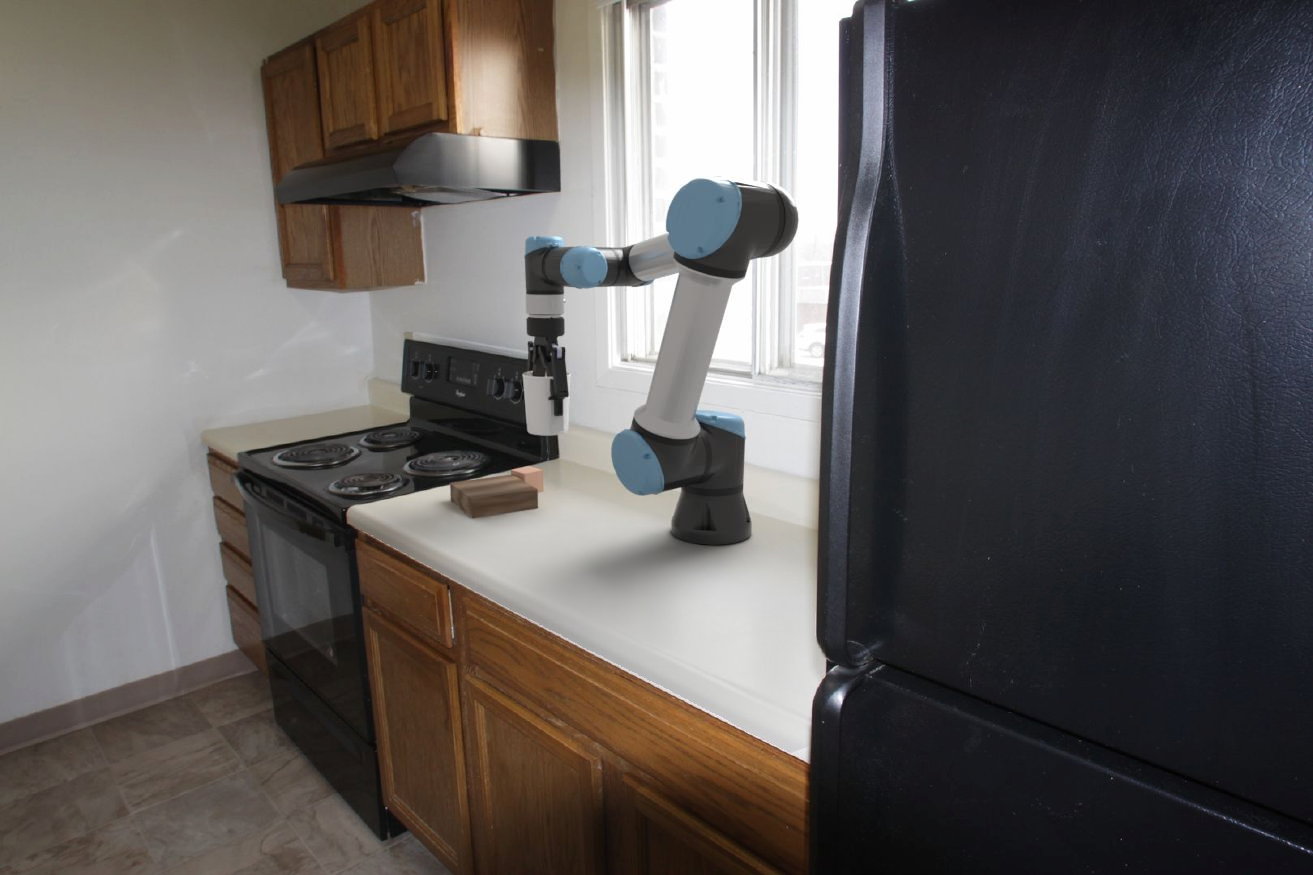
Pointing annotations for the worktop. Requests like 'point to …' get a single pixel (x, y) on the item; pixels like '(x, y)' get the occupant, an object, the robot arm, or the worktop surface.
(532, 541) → the worktop surface
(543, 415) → the white cup
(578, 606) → the worktop surface
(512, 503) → the walnut slab
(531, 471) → the terracotta cube
